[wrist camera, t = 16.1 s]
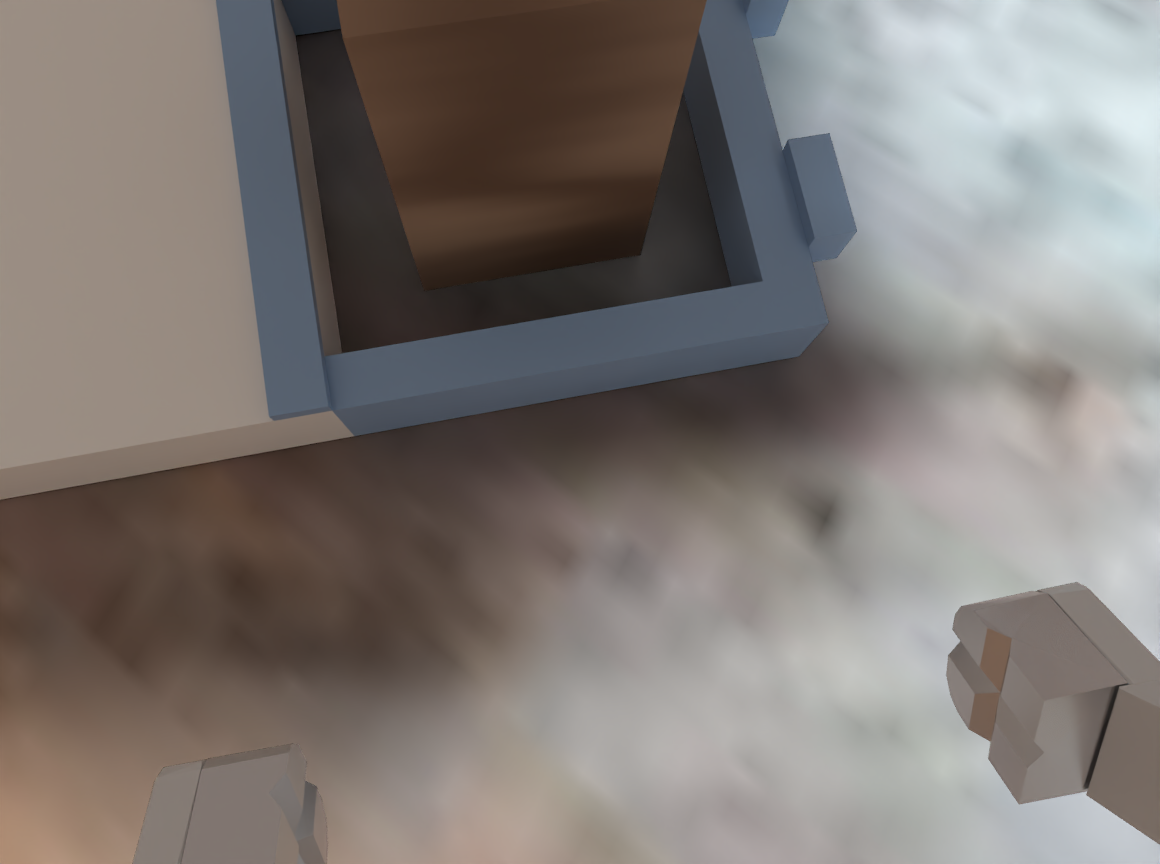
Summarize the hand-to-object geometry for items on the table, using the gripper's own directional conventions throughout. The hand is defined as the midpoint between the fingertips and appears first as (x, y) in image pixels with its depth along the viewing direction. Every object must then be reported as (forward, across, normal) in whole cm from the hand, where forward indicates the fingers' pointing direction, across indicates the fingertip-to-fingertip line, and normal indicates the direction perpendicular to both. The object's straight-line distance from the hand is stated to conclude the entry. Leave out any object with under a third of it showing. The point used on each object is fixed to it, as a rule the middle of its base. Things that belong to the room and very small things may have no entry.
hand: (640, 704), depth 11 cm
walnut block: (+12, 0, -3) cm, 12 cm away
